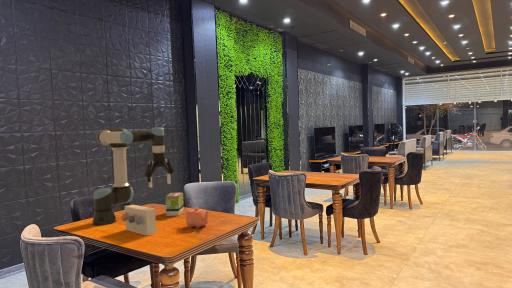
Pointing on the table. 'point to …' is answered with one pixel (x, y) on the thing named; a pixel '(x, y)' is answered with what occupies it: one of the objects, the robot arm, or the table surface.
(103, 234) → the table surface
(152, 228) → the button panel
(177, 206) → the tea box
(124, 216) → the terracotta button
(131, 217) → the grey button
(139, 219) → the dark grey button
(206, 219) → the teapot
